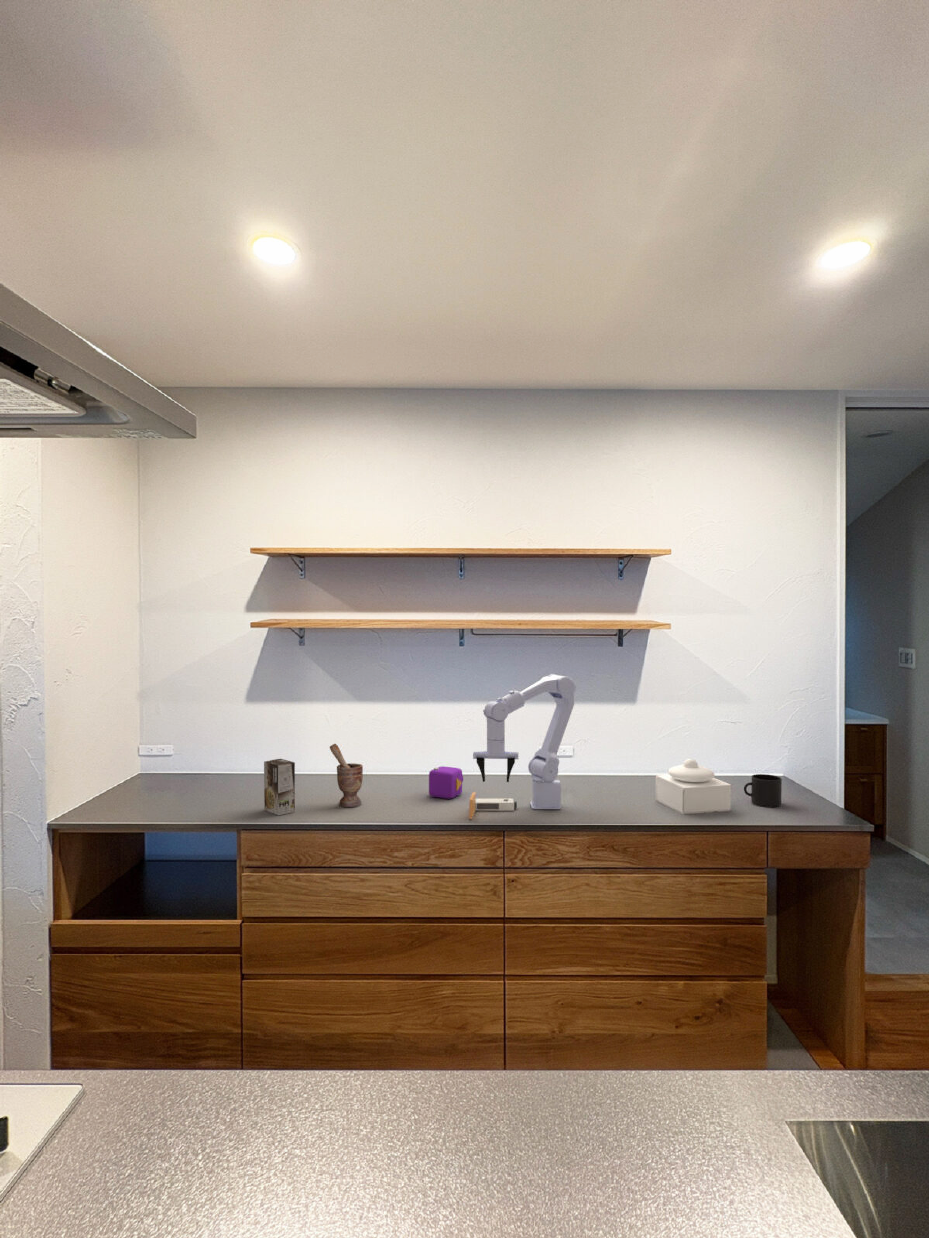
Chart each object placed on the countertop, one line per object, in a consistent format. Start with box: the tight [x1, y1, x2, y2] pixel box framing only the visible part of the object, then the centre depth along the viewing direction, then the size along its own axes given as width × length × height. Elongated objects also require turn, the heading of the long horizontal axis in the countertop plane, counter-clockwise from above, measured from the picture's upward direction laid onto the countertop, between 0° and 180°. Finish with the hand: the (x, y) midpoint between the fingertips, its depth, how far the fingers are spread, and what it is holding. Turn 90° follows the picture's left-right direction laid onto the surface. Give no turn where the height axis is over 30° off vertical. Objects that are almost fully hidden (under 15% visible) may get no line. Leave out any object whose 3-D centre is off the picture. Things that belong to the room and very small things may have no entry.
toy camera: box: [428, 766, 464, 800], centre depth 258 cm, size 11×14×10 cm
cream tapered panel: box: [475, 798, 518, 812], centre depth 241 cm, size 14×5×3 cm, turn 91°
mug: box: [743, 773, 783, 808], centre depth 248 cm, size 9×12×9 cm
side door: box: [468, 791, 477, 820], centre depth 233 cm, size 10×1×6 cm, turn 172°
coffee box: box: [263, 758, 296, 816], centre depth 237 cm, size 9×6×16 cm
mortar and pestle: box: [329, 743, 364, 808], centre depth 245 cm, size 12×9×20 cm
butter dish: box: [654, 758, 732, 815], centre depth 246 cm, size 18×18×16 cm
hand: (495, 781), depth 236 cm, fingers open, 7 cm apart
